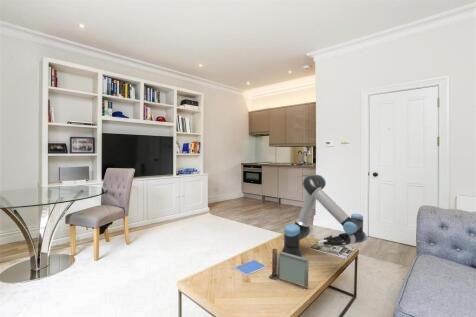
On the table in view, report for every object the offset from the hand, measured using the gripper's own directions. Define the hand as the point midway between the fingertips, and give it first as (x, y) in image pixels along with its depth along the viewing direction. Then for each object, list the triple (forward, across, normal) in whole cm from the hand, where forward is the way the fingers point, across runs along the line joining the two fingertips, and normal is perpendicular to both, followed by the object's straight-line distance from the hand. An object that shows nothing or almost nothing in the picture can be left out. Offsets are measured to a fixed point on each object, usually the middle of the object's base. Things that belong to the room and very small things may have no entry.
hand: (318, 243), depth 152 cm
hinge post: (+26, +10, -22) cm, 36 cm away
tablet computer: (+35, +27, -22) cm, 50 cm away
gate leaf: (+20, 0, -20) cm, 28 cm away
